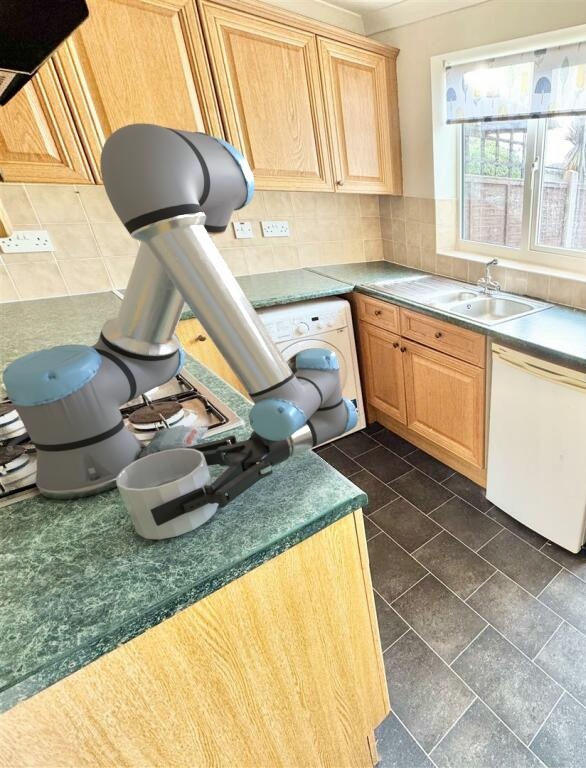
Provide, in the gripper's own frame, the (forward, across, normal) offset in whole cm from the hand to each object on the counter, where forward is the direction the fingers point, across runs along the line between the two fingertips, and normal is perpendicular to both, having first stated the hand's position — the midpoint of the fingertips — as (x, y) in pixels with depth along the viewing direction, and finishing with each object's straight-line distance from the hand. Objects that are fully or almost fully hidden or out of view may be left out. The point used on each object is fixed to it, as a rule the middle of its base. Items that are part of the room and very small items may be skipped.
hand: (139, 501), depth 64 cm
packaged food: (-11, +20, -6) cm, 23 cm away
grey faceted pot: (-4, 0, -6) cm, 7 cm away
